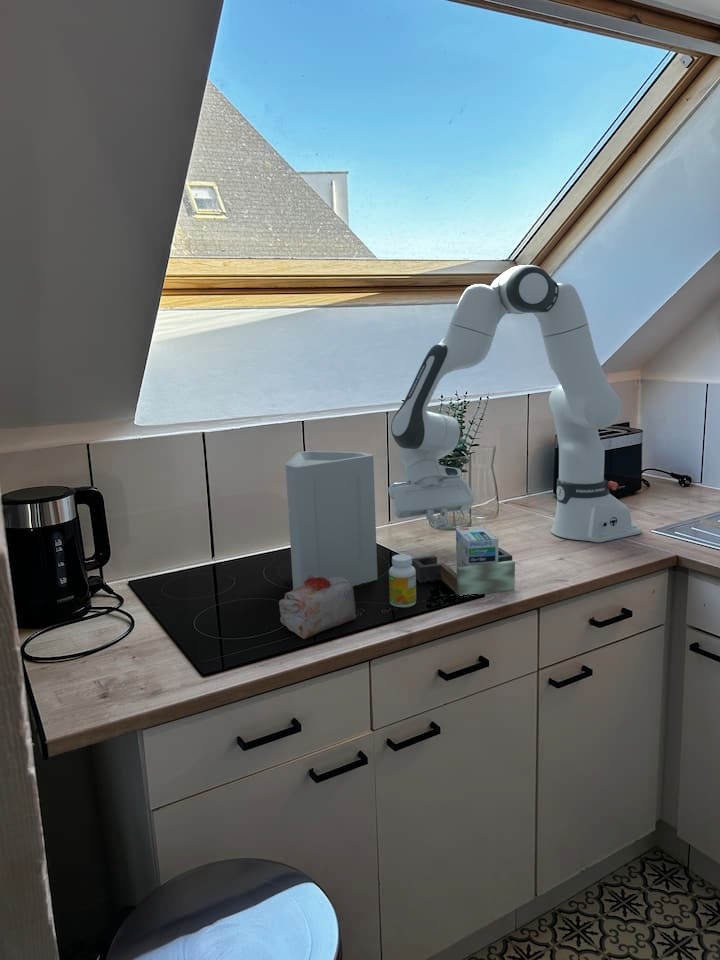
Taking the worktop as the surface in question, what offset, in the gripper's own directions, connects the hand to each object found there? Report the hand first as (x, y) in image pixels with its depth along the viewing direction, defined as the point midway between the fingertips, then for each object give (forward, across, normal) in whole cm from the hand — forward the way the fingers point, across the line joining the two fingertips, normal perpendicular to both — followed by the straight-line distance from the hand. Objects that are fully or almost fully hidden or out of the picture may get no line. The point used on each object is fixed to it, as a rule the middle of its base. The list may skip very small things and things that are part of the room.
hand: (441, 527), depth 174 cm
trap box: (+17, 0, -8) cm, 19 cm away
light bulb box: (+18, +1, -8) cm, 20 cm away
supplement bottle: (+23, -18, -13) cm, 32 cm away
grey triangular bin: (+9, -30, 0) cm, 32 cm away
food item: (+26, -37, -17) cm, 49 cm away
